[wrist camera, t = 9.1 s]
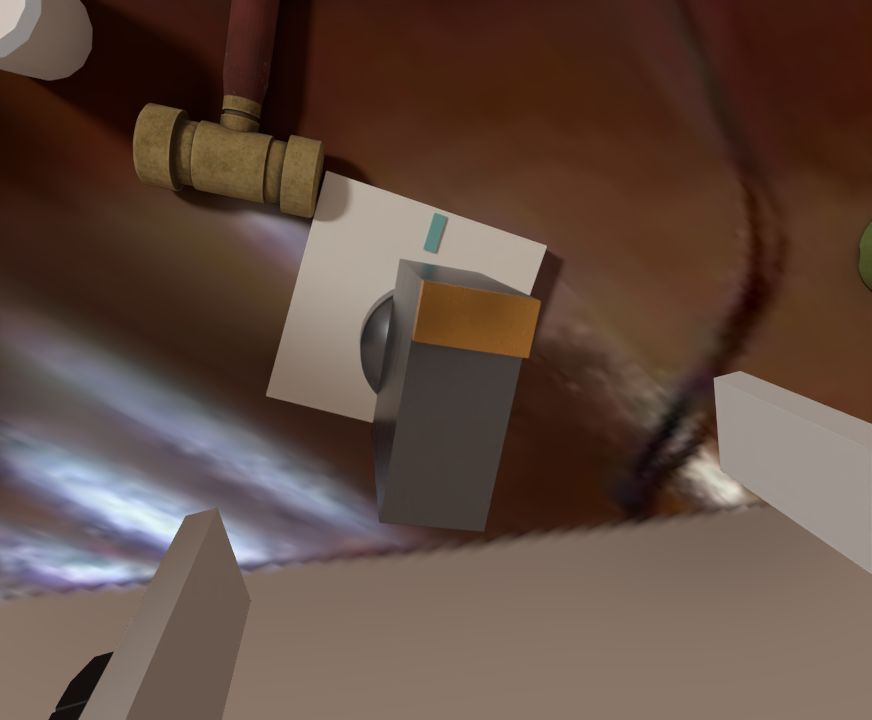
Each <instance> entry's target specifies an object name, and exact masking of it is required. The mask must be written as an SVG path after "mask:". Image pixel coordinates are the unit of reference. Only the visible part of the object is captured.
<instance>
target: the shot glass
mask: <svg viewBox="0 0 872 720" xmlns="http://www.w3.org/2000/svg"><path fill="white" fill-rule="evenodd" d="M92 30H93V29H92V26H91V23H90V20H89V17H88V14H87V11H86V8H85V6H84V5H83V4H82V2H81V1H80V0H0V69H1V70H5V71H9V72H13V73H17V74H21V75H25V76H29V77H34V78H38V79H43V80H48V81H50V80H55V79H61V78H66V77H69V76H70V75H72V74H73V73H74V72H76V71H77V70H78V69H80V68H81V67H82V66H83V65H84V63H85V61H86V59H87V57H88V55H89V53H90V51H91V49H92Z"/></svg>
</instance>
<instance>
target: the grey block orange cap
mask: <svg viewBox="0 0 872 720" xmlns="http://www.w3.org/2000/svg"><path fill="white" fill-rule="evenodd" d="M540 304H541V301H540V300H538V299H536V298H534V297H532V296H530V295H527V294H525V293H523V292H521V291H519V290H516V289H514V288H512V287H510V286H508V285H505V284H503V283H501V282H499V281H497V280H495V279H492V278H490V277H488V276H486V275H484V274H481V273H479V272H474V271H468V270H462V269H456V268H451V267H445V266H439V265H433V264H428V263H422V262H416V261H411V260H405V259H400V260H399V266H398V272H397V278H396V284H395V289H393V290H391V291H389V292H387V293H386V294H384V295H383V296H382V297H380V298H379V299H378V300H377V301H376V302H375V303H374V304H373V305H372V307H371V308H370V309H369V311H368V313H367V314H366V316H365V318H364V321H363V324H362V327H361V331H360V356H361V365H362V370H363V373H364V376H365V378H366V380H367V382H368V384H369V385H370V387H371V388H372V390H373V391H374V392H375V393H376V394H377V400H376V406H375V412H374V418H373V424H372V430H371V435H372V446H373V457H374V468H375V479H376V490H377V501H378V512H379V523H391V524H402V525H414V526H425V527H436V528H448V529H459V530H471V531H482V532H484V530H485V525H486V521H487V516H488V512H489V507H490V503H491V498H492V494H493V489H494V485H495V480H496V475H497V471H498V466H499V462H500V457H501V453H502V448H503V444H504V439H505V435H506V430H507V426H508V421H509V417H510V412H511V408H512V403H513V398H514V394H515V389H516V385H517V380H518V376H519V371H520V367H521V362H522V358H529V353H530V349H531V344H532V340H533V335H534V331H535V327H536V322H537V318H538V313H539V309H540Z"/></svg>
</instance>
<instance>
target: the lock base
mask: <svg viewBox="0 0 872 720" xmlns="http://www.w3.org/2000/svg"><path fill="white" fill-rule="evenodd" d="M546 248H547V246H546V245H543V244H540V243H537V242H534V241H531V240H528V239H525V238H522V237H519V236H516V235H513V234H511V233H508V232H505V231H502V230H499V229H496V228H493V227H490V226H487V225H484V224H481V223H478V222H475V221H473V220H470V219H467V218H464V217H461V216H458V215H455V214H452V213H449V212H446V211H443V210H440V209H437V208H435V207H432V206H429V205H426V204H423V203H420V202H417V201H414V200H411V199H408V198H405V197H402V196H399V195H397V194H394V193H391V192H388V191H385V190H382V189H379V188H376V187H373V186H370V185H367V184H364V183H361V182H359V181H356V180H353V179H350V178H347V177H344V176H341V175H338V174H335V173H332V172H329V171H326V174H325V178H324V181H323V185H322V189H321V193H320V196H319V200H318V204H317V207H316V211H315V215H314V219H313V222H312V226H311V230H310V233H309V237H308V241H307V245H306V248H305V252H304V256H303V259H302V263H301V267H300V271H299V274H298V278H297V282H296V285H295V289H294V293H293V297H292V300H291V304H290V308H289V311H288V315H287V319H286V323H285V326H284V330H283V334H282V337H281V341H280V345H279V349H278V352H277V356H276V360H275V363H274V367H273V371H272V374H271V378H270V382H269V386H268V389H267V393H266V396H268V397H272V398H276V399H280V400H284V401H288V402H292V403H296V404H300V405H304V406H308V407H312V408H316V409H320V410H324V411H328V412H332V413H335V414H339V415H343V416H347V417H351V418H355V419H359V420H363V421H367V422H371V423H373V418H374V412H375V406H376V400H377V394H376V393H375V392H374V391H373V390H372V388H371V387H370V385H369V384H368V382H367V380H366V378H365V376H364V373H363V370H362V365H361V356H360V331H361V327H362V324H363V321H364V318H365V316H366V314H367V313H368V311H369V309H370V308H371V307H372V305H373V304H374V303H375V302H376V301H377V300H378V299H379V298H380V297H382V296H383V295H384V294H386V293H387V292H389V291H391V290H393V289H395V284H396V278H397V272H398V266H399V260H400V259H405V260H411V261H416V262H422V263H428V264H433V265H439V266H445V267H451V268H456V269H462V270H468V271H474V272H479V273H481V274H484V275H486V276H488V277H490V278H492V279H495V280H497V281H499V282H501V283H503V284H505V285H508V286H510V287H512V288H514V289H516V290H519V291H521V292H523V293H525V294H527V295H530V293H531V290H532V287H533V284H534V282H535V279H536V276H537V273H538V270H539V267H540V265H541V262H542V259H543V256H544V253H545V251H546Z"/></svg>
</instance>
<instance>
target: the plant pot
mask: <svg viewBox="0 0 872 720" xmlns="http://www.w3.org/2000/svg"><path fill="white" fill-rule="evenodd" d="M859 248H860V261H859V265H858V269H859V272H860V275H861V277H862V279H863V281H864V283H865V284H866V285H867V286H868V287H869V288H870V289H871V290H872V221H871V222H870V224H869V225H868V227H867V228H866V230H865V232H864V234H863V236H862V238H861V241H860V245H859Z"/></svg>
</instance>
